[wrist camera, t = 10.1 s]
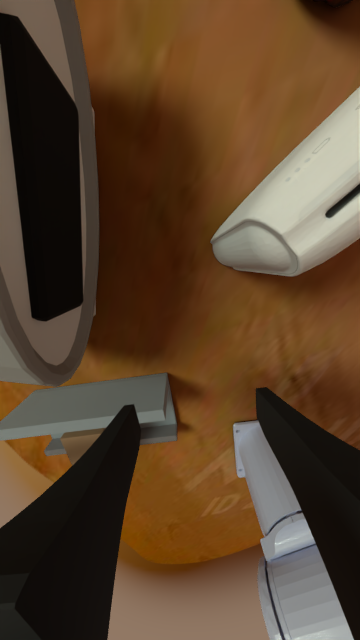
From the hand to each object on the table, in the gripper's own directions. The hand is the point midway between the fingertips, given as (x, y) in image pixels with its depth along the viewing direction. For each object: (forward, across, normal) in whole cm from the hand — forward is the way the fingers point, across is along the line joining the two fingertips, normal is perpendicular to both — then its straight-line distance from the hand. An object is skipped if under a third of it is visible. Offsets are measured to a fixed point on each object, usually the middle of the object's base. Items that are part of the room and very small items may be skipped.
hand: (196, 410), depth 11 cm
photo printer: (+10, -8, -11) cm, 17 cm away
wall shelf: (+10, +11, +8) cm, 17 cm away
